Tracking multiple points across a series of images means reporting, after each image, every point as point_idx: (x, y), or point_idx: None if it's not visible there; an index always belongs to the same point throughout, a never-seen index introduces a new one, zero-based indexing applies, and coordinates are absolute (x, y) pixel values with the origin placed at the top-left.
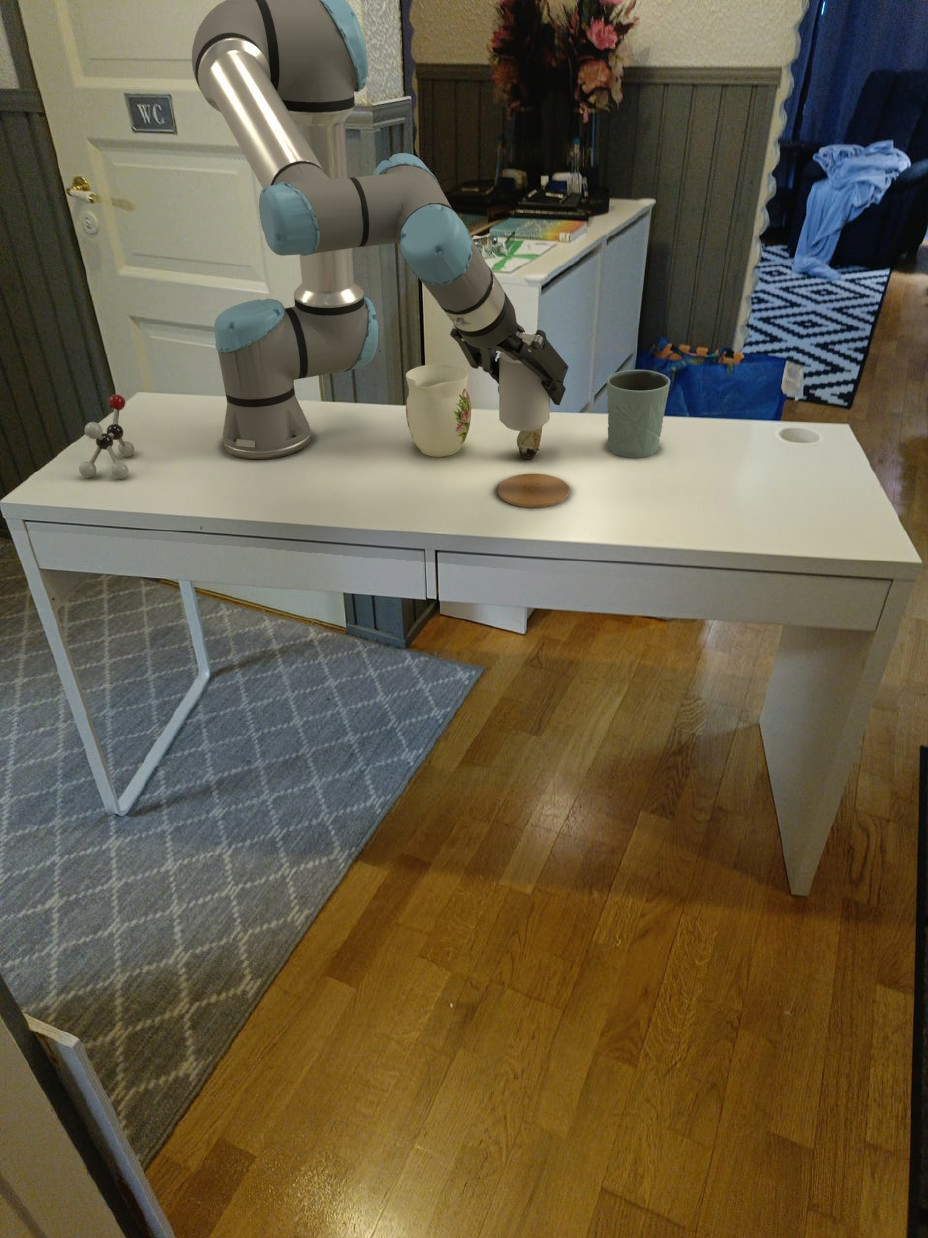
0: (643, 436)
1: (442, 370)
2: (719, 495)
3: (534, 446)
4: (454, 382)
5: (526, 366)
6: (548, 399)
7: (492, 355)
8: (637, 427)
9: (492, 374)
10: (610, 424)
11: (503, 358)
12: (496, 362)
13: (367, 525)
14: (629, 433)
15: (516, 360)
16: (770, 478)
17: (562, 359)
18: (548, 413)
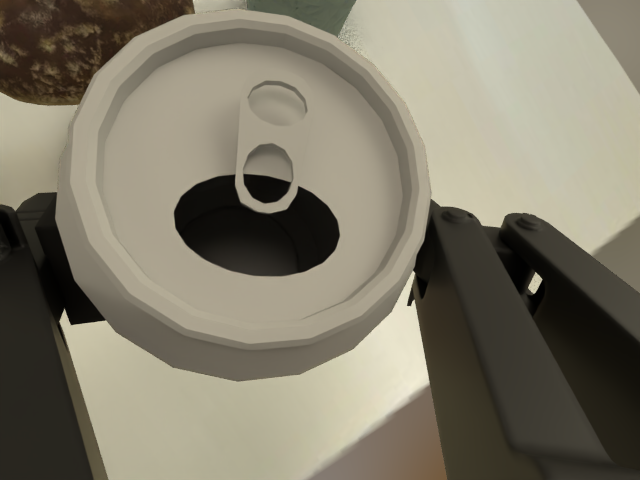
0: (342, 22)
1: None
2: (483, 121)
3: None
4: None
5: (436, 417)
6: (338, 231)
7: (92, 438)
8: (339, 13)
9: (81, 323)
10: (274, 8)
11: (183, 365)
12: (50, 256)
13: None
14: (321, 27)
15: (310, 361)
16: (502, 42)
17: (602, 267)
18: (320, 236)
